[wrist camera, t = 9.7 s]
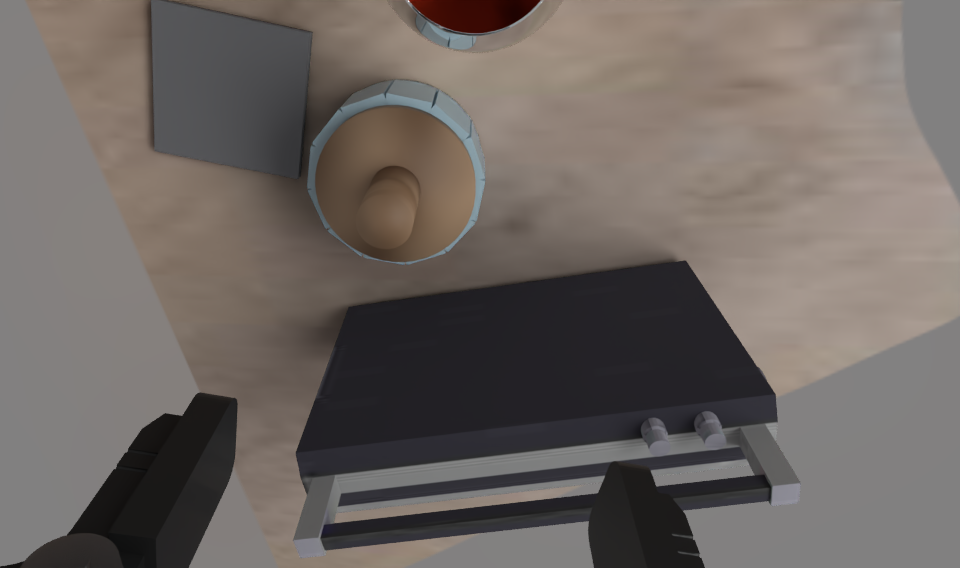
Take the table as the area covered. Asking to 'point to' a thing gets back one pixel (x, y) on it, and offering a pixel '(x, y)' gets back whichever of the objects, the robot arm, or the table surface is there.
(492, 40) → the wineglass
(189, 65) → the mat
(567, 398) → the radio
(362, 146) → the lid
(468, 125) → the bowl
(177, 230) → the table surface
